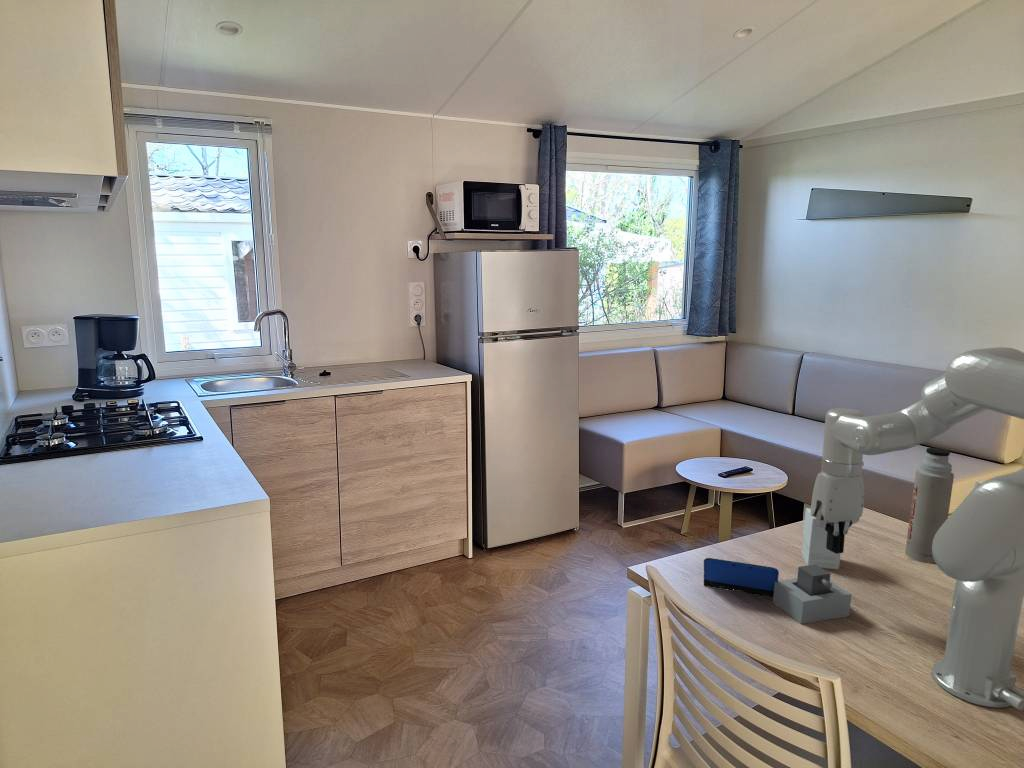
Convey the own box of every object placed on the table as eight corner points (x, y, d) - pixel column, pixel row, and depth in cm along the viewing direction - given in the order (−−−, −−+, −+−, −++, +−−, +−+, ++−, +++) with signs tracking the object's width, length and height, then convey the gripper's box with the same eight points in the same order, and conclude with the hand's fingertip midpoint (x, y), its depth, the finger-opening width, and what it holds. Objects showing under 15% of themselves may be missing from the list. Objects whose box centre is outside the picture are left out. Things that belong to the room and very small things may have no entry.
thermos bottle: (903, 557, 170) (917, 450, 164) (907, 546, 176) (920, 443, 171) (940, 566, 165) (956, 456, 160) (942, 554, 171) (958, 448, 166)
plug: (812, 598, 147) (815, 564, 145) (834, 614, 140) (838, 578, 139) (795, 601, 146) (798, 566, 144) (817, 617, 139) (821, 581, 138)
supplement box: (839, 570, 162) (845, 520, 160) (806, 567, 164) (811, 518, 161) (831, 557, 169) (836, 509, 167) (800, 554, 171) (805, 507, 168)
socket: (849, 616, 142) (851, 594, 141) (800, 624, 138) (803, 601, 137) (818, 595, 150) (821, 574, 149) (772, 602, 147) (774, 581, 146)
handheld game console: (775, 581, 157) (779, 544, 155) (776, 609, 145) (780, 569, 143) (706, 569, 162) (708, 533, 161) (701, 595, 150) (703, 556, 148)
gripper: (855, 460, 146) (848, 540, 149) (799, 466, 142) (793, 548, 145) (884, 469, 139) (876, 553, 142) (825, 476, 135) (819, 562, 138)
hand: (834, 550), depth 144 cm, fingers closed
